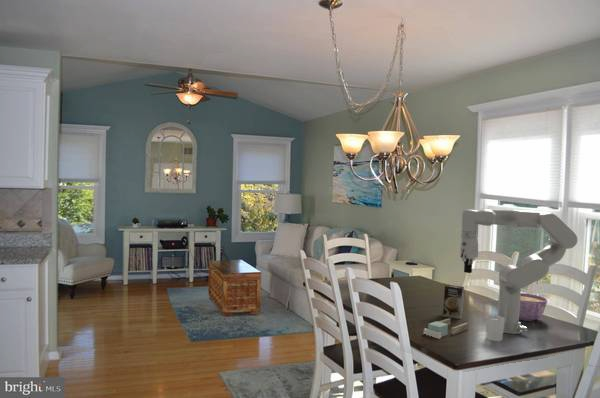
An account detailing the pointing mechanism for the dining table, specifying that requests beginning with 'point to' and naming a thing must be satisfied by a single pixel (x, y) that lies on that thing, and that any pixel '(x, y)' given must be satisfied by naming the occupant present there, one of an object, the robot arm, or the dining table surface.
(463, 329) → the channel
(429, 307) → the dining table surface
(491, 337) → the white cup
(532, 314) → the bowl of food
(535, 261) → the robot arm
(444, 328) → the block
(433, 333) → the stop bar
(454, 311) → the coffee box
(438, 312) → the dining table surface
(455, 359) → the dining table surface
